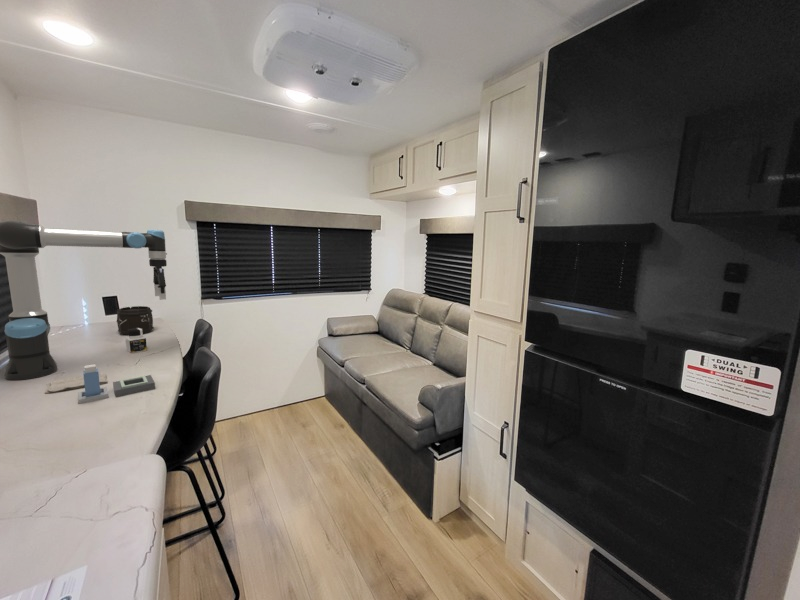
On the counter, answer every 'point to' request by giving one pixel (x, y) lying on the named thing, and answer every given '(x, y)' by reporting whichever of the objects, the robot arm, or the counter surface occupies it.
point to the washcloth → (71, 384)
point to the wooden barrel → (134, 319)
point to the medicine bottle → (135, 341)
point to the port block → (133, 385)
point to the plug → (91, 380)
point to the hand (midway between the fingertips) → (160, 297)
